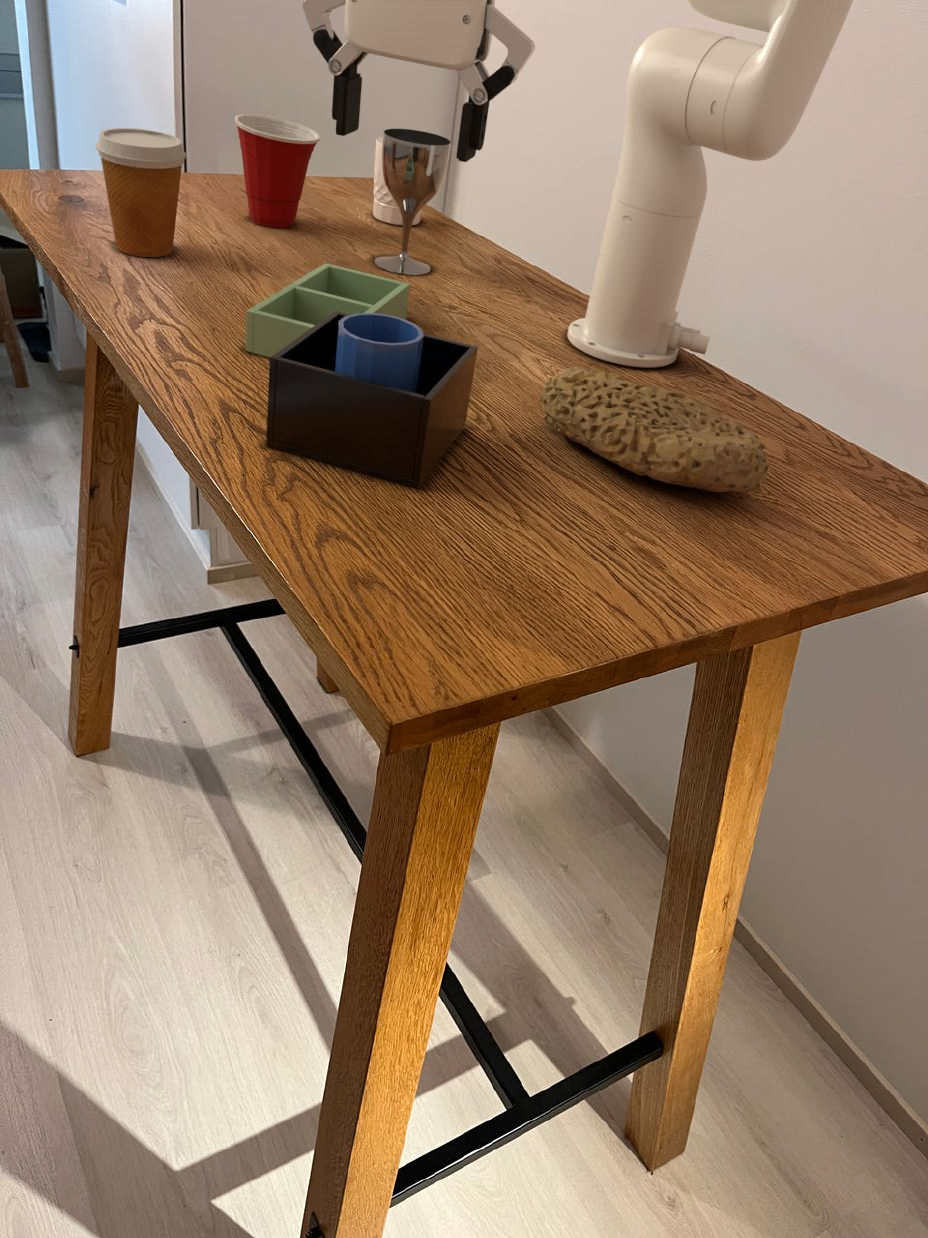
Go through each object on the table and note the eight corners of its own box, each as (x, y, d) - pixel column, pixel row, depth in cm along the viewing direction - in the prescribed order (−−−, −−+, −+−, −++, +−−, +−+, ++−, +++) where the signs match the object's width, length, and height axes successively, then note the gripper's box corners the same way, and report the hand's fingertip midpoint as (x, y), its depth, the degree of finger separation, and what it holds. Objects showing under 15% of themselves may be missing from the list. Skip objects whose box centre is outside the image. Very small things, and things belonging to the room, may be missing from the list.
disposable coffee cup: (204, 253, 120) (204, 144, 113) (142, 267, 113) (138, 151, 106) (146, 231, 123) (143, 124, 116) (82, 243, 116) (75, 129, 109)
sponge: (519, 443, 93) (681, 504, 79) (536, 356, 91) (706, 404, 76) (618, 449, 101) (781, 505, 87) (636, 369, 99) (807, 414, 85)
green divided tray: (406, 319, 112) (410, 283, 110) (340, 376, 97) (343, 335, 94) (322, 298, 113) (325, 262, 111) (245, 350, 98) (246, 310, 96)
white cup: (416, 230, 142) (425, 154, 136) (362, 219, 142) (369, 142, 137) (429, 218, 148) (438, 144, 142) (377, 207, 149) (384, 133, 143)
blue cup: (420, 426, 89) (434, 326, 84) (394, 456, 83) (407, 351, 78) (348, 406, 90) (357, 306, 85) (317, 435, 84) (325, 330, 79)
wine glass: (386, 275, 123) (400, 143, 115) (361, 254, 129) (373, 126, 120) (444, 275, 127) (462, 146, 118) (417, 255, 132) (432, 130, 124)
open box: (464, 427, 91) (478, 346, 87) (417, 488, 81) (430, 400, 76) (328, 391, 93) (335, 310, 89) (265, 446, 83) (269, 357, 78)
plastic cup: (308, 239, 131) (315, 138, 124) (224, 225, 130) (226, 123, 123) (319, 217, 140) (326, 122, 133) (240, 204, 139) (243, 108, 132)
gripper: (568, -107, 70) (525, 160, 80) (333, -147, 72) (319, 116, 82) (546, -111, 64) (502, 178, 74) (289, -155, 66) (281, 130, 76)
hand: (405, 145), depth 78 cm, fingers open, 9 cm apart
